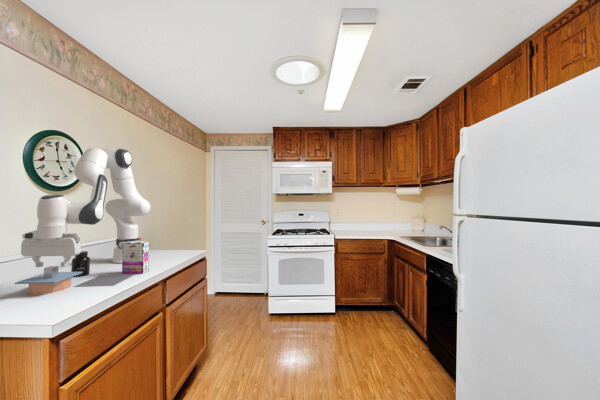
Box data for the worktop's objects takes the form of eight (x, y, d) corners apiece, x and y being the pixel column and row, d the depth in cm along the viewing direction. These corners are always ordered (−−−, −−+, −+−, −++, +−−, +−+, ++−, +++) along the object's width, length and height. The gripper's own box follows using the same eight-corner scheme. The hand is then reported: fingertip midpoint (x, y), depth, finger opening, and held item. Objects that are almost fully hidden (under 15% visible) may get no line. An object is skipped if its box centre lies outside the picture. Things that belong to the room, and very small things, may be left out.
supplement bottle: (78, 278, 117) (79, 253, 117) (67, 277, 118) (67, 253, 118) (93, 274, 124) (93, 250, 124) (82, 273, 125) (82, 250, 125)
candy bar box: (149, 272, 129) (149, 241, 129) (142, 274, 124) (143, 242, 124) (128, 271, 129) (129, 240, 129) (121, 274, 124) (122, 242, 124)
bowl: (47, 285, 107) (48, 274, 107) (77, 284, 108) (78, 273, 108) (19, 296, 95) (19, 283, 95) (53, 295, 96) (54, 282, 96)
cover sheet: (47, 273, 108) (48, 263, 108) (82, 272, 109) (82, 262, 109) (14, 284, 94) (14, 272, 94) (54, 283, 95) (54, 271, 95)
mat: (99, 276, 120) (99, 275, 120) (134, 276, 122) (134, 275, 122) (73, 288, 104) (73, 286, 104) (113, 286, 106) (113, 285, 106)
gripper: (85, 232, 106) (84, 264, 106) (32, 232, 104) (32, 265, 104) (73, 234, 100) (73, 268, 100) (17, 234, 98) (17, 269, 98)
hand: (51, 266), depth 102 cm, fingers open, 8 cm apart
